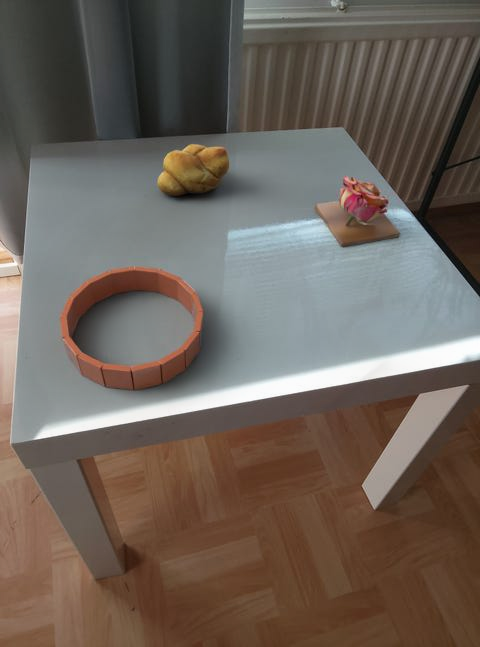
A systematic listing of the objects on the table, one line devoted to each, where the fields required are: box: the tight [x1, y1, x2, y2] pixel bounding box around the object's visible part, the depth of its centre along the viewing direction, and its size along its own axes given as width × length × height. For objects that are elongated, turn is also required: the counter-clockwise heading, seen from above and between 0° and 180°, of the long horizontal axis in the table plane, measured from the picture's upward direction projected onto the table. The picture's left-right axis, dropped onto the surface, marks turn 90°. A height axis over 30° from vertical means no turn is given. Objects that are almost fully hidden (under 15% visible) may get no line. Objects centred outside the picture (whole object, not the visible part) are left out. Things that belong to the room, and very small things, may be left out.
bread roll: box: [157, 143, 230, 197], centre depth 89 cm, size 13×10×8 cm
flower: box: [336, 175, 390, 227], centre depth 85 cm, size 10×9×8 cm
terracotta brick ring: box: [59, 265, 204, 391], centre depth 67 cm, size 18×18×4 cm
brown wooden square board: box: [314, 200, 401, 248], centre depth 88 cm, size 11×11×1 cm
